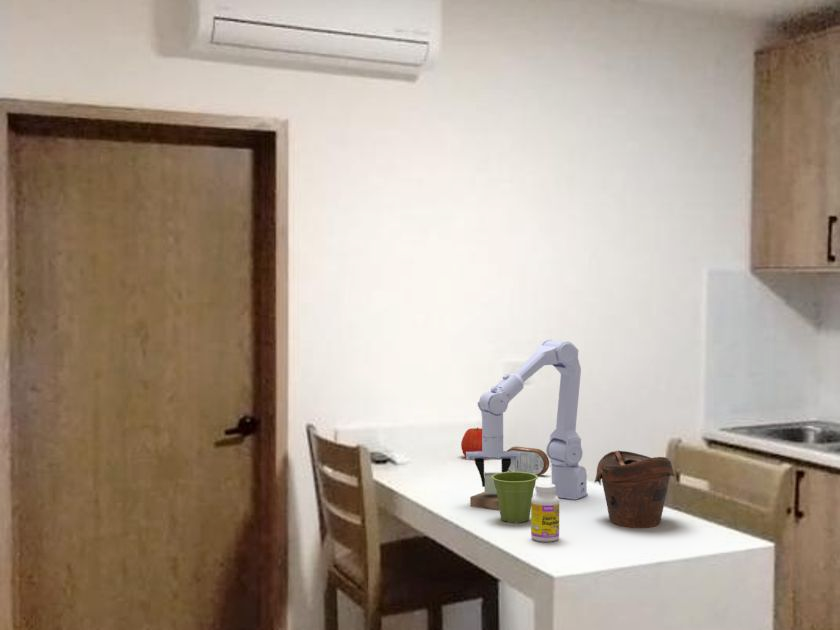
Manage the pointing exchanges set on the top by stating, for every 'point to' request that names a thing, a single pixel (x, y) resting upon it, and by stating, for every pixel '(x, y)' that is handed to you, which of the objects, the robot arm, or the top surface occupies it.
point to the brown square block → (485, 501)
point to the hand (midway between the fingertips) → (493, 486)
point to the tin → (529, 461)
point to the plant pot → (514, 495)
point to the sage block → (489, 484)
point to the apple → (472, 440)
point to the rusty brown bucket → (634, 487)
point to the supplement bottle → (545, 513)
